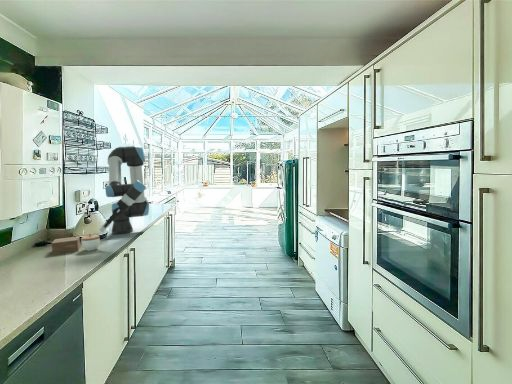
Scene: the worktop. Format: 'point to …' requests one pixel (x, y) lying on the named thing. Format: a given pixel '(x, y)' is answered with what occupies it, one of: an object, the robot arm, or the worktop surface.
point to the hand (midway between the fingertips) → (102, 229)
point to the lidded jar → (90, 242)
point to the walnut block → (66, 245)
